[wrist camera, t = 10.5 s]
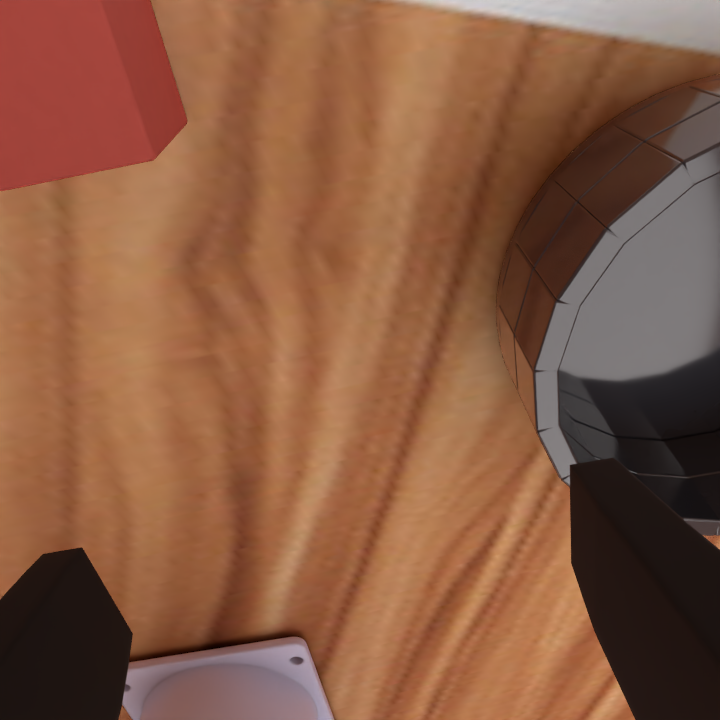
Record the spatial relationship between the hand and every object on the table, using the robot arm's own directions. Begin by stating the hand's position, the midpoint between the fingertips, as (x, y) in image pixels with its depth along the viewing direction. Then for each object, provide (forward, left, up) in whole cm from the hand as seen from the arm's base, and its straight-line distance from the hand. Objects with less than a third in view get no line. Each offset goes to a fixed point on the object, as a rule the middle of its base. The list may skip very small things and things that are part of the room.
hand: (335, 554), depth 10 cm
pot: (-2, -10, -9) cm, 14 cm away
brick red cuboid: (+7, +4, -9) cm, 12 cm away
